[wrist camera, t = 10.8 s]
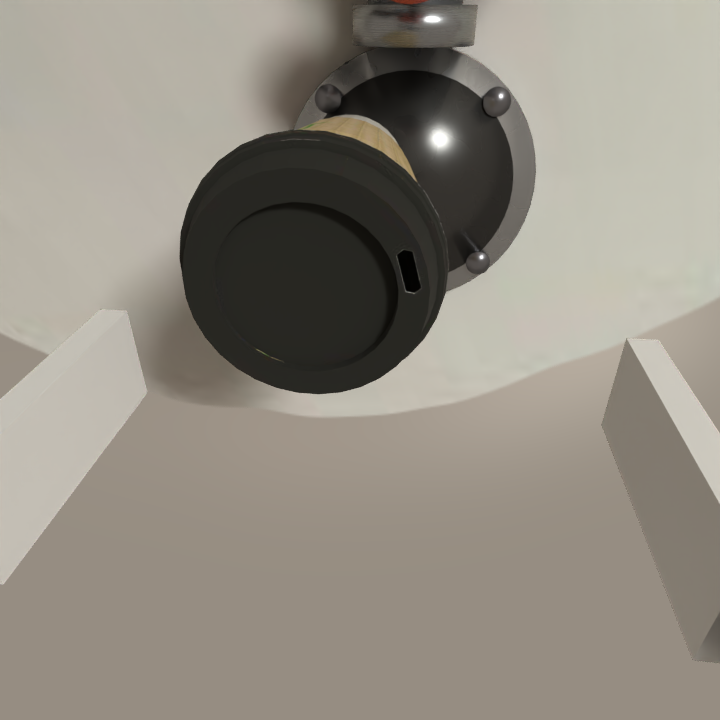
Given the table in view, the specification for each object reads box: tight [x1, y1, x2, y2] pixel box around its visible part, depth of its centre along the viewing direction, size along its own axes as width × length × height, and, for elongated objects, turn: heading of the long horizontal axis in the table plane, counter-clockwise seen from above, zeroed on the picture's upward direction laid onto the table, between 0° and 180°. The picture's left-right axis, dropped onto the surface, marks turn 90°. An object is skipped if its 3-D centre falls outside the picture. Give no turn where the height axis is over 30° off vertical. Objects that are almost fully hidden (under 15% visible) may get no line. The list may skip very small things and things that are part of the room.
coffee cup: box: [180, 114, 449, 394], centre depth 25 cm, size 10×10×15 cm
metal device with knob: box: [294, 0, 536, 291], centre depth 28 cm, size 20×14×9 cm
